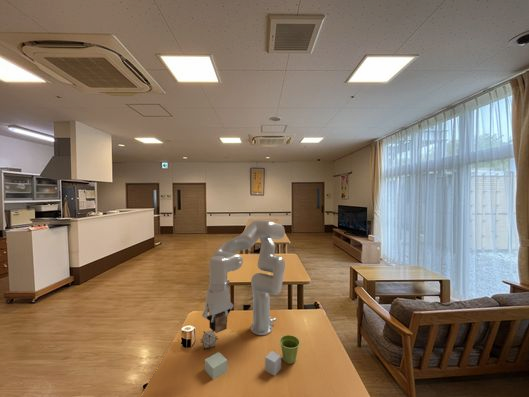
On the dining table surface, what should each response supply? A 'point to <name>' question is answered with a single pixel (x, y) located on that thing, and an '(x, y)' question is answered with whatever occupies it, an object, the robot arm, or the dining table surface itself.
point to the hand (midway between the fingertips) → (218, 326)
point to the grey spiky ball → (209, 339)
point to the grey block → (273, 363)
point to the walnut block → (220, 322)
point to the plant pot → (289, 348)
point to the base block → (216, 365)
